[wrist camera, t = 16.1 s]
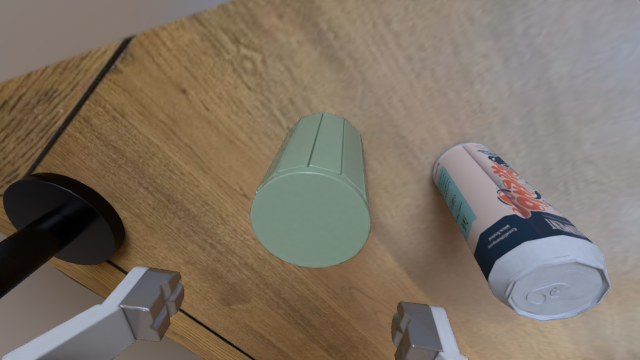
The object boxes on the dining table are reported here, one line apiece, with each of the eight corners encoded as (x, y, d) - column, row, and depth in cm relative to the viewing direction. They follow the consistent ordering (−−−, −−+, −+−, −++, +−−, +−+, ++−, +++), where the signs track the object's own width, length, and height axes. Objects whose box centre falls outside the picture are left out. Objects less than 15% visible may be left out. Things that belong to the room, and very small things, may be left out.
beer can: (503, 173, 22) (635, 305, 12) (447, 201, 24) (520, 337, 14) (478, 128, 21) (606, 235, 10) (420, 161, 23) (480, 281, 12)
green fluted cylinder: (270, 150, 23) (226, 221, 15) (323, 95, 21) (305, 146, 12) (324, 197, 25) (312, 283, 17) (379, 152, 22) (396, 229, 14)
